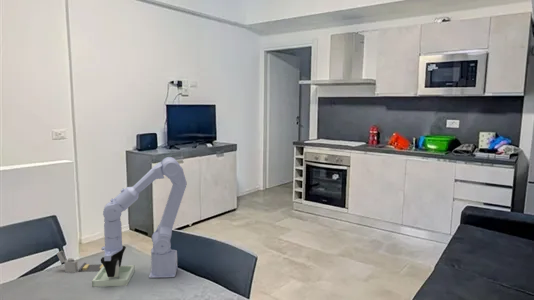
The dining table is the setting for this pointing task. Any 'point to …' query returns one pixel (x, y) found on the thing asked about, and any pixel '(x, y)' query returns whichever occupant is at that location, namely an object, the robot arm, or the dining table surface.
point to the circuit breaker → (68, 263)
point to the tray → (104, 281)
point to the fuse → (116, 272)
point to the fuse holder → (90, 268)
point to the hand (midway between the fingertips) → (114, 271)
